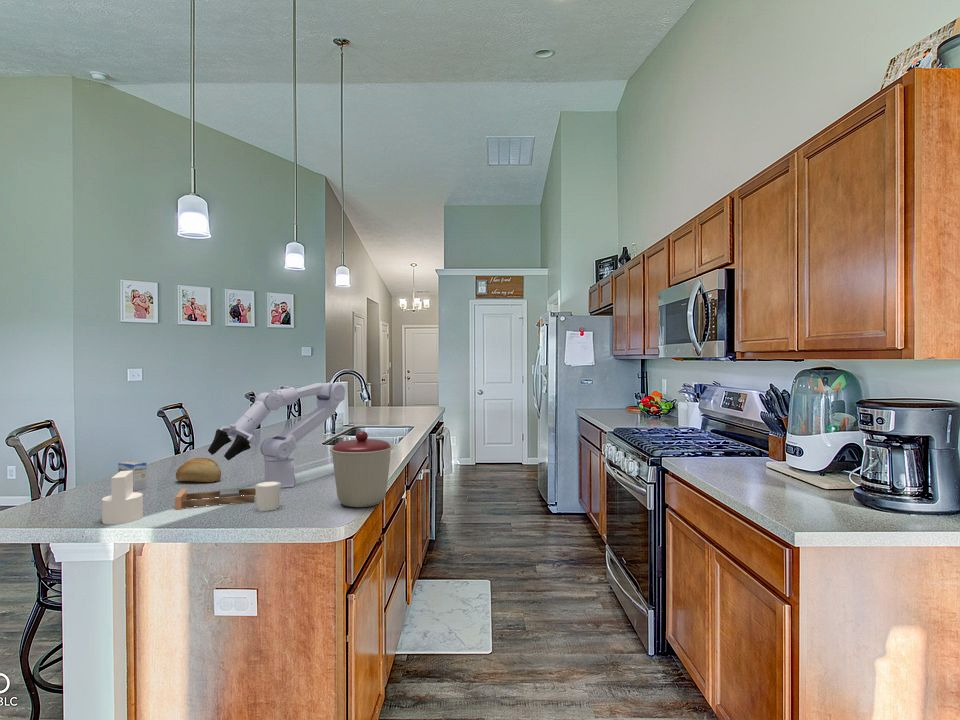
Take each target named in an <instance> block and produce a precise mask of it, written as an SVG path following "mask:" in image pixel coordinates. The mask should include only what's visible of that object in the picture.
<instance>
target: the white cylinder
mask: <svg viewBox="0 0 960 720" xmlns="http://www.w3.org/2000/svg"><path fill="white" fill-rule="evenodd" d="M254 488H255V489H256V495H255V497H256V507H257V510H258V511H259V510H261V511H260V512H269V510H271V511H275V510H278V509H279V507H280V498H281V497H280V496H281V483H280V482H277V481H269V482H265V481H262V482H258V483H255V485H254ZM277 508H278V509H277ZM274 509H275V510H274Z"/></svg>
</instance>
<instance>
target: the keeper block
mask: <svg viewBox="0 0 960 720" xmlns="http://www.w3.org/2000/svg"><path fill="white" fill-rule="evenodd" d="M239 489H240V488H239V487H238V488H237V487H236V488H229V489H228V488H227V489H220V491H221V492H220V495H219V498H221V497H232V496H239Z"/></svg>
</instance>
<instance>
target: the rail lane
mask: <svg viewBox="0 0 960 720" xmlns="http://www.w3.org/2000/svg"><path fill="white" fill-rule="evenodd" d="M220 492H221V490H216V491H215V490H214V491H204V492H203V491H202V492H201V491H200V492H189V493H188V488H187V487H186V488H181V489H180V490H179V491H178V493H177V494H176V495H175V498H174V501H175V502H174V504H175V505H174V506H175V507H174V509H178V510H182V509H181V508H184V509H187V508H186V507H194V506H206V505H218V506H220V505H219V504H229V505H231V504H230V503H240V504H243V503H242V502H251V503H255V496H256V489H255V487H252V488H251V487H250V488H239V496H232V497H221V498H215V497H219V495H220ZM241 495H242V496H241ZM243 495H244V496H243ZM202 498H209V499H202ZM191 499H197V500H191Z"/></svg>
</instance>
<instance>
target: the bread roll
mask: <svg viewBox="0 0 960 720" xmlns="http://www.w3.org/2000/svg"><path fill="white" fill-rule="evenodd" d="M221 476H222V471H221V468H220V467H219V464H218V463H217V461H215V460H214V459H212V458H209V457H200V458H199V457H196V458H193V459H190V460H188V461H186V462H184V463H183V464H181V465H180V466H179V467H178V468H177V470H176V473H175V479H176V480H177V481H178V482H198V483H216V482H218V481H220V480H221ZM215 481H216V482H215Z"/></svg>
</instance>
